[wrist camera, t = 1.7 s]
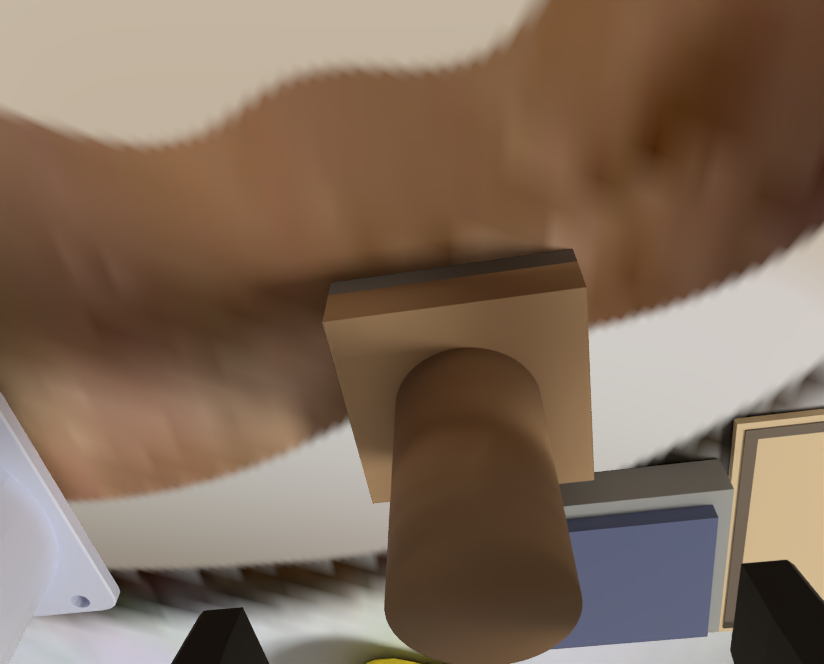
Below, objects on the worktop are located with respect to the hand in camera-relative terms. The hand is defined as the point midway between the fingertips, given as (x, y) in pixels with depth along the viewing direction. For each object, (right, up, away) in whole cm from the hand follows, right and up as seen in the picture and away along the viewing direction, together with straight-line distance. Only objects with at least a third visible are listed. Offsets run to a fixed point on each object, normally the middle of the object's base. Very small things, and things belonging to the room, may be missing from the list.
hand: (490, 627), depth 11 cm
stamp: (0, +4, +6) cm, 7 cm away
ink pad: (+4, -1, +9) cm, 10 cm away
